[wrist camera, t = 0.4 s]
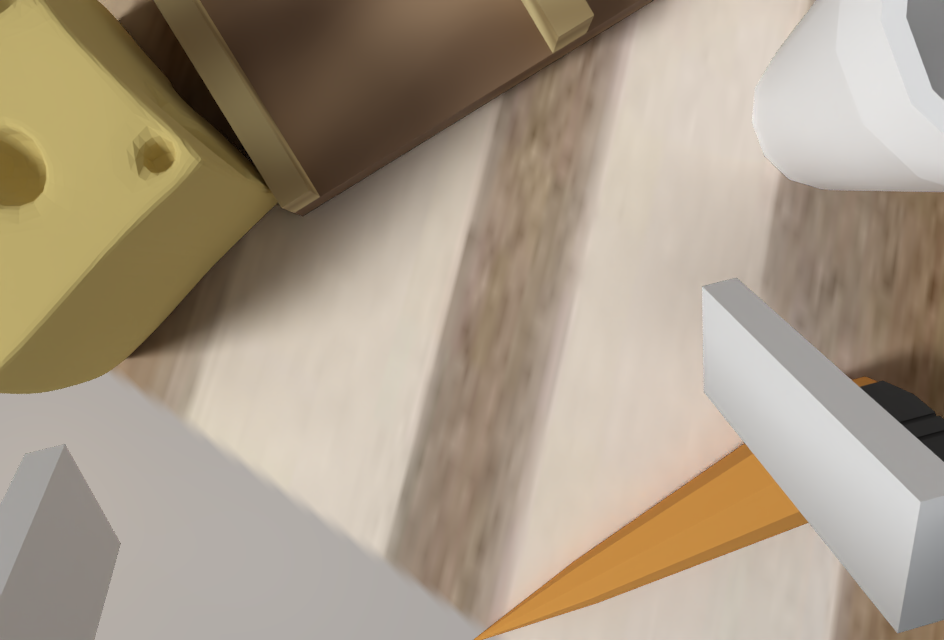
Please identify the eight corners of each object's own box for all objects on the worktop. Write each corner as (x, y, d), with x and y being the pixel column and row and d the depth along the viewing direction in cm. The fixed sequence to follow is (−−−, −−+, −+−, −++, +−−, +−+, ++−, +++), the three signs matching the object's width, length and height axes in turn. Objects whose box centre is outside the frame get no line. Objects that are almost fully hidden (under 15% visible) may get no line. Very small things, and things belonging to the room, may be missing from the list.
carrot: (862, 371, 33) (886, 349, 29) (930, 466, 31) (966, 459, 27) (459, 588, 35) (426, 598, 31) (504, 686, 34) (476, 711, 30)
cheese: (115, 12, 31) (-52, -113, 21) (303, 203, 32) (225, 166, 22) (-62, 194, 32) (-307, 154, 22) (126, 380, 32) (-30, 424, 22)
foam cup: (866, 269, 32) (1137, 260, 19) (671, 156, 32) (809, 67, 19) (988, 65, 31) (1351, -89, 18) (791, -51, 31) (1017, -289, 18)
